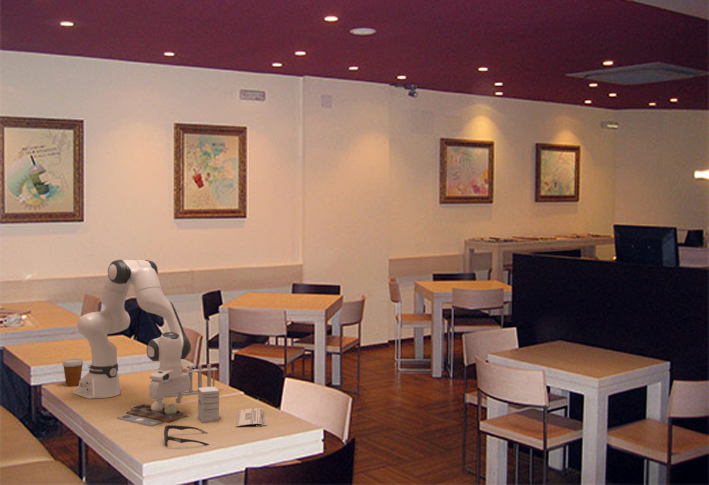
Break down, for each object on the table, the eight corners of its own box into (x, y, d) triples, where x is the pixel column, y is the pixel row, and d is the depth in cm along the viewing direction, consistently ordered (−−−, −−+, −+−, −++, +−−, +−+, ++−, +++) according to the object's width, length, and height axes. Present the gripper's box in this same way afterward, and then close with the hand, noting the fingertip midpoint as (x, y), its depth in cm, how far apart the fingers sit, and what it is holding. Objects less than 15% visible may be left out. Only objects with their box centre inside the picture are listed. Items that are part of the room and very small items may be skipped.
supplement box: (197, 417, 292) (197, 387, 292) (215, 415, 295) (215, 386, 295) (201, 422, 286) (201, 391, 285) (219, 420, 288) (219, 390, 288)
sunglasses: (163, 435, 269) (164, 422, 269) (207, 437, 273) (209, 425, 273) (162, 449, 253) (163, 436, 253) (209, 451, 257) (211, 438, 257)
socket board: (126, 413, 297) (126, 408, 297) (146, 407, 306) (146, 402, 306) (169, 422, 284) (169, 417, 284) (188, 416, 294) (188, 411, 294)
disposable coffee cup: (76, 381, 351) (76, 357, 350) (87, 384, 345) (87, 360, 345) (58, 385, 343) (58, 361, 343) (69, 388, 338) (69, 363, 337)
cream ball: (148, 413, 294) (148, 401, 294) (157, 410, 299) (157, 399, 298) (157, 415, 292) (157, 403, 292) (165, 412, 296) (165, 400, 296)
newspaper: (267, 428, 281) (266, 421, 281) (236, 432, 280) (235, 425, 280) (267, 411, 304) (266, 406, 304) (238, 415, 302) (238, 409, 302)
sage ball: (161, 416, 290) (161, 404, 290) (170, 413, 295) (170, 401, 294) (170, 418, 288) (170, 406, 288) (179, 415, 292) (179, 403, 292)
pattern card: (116, 418, 289) (116, 417, 289) (128, 415, 295) (128, 413, 295) (152, 426, 279) (152, 425, 279) (163, 422, 285) (163, 421, 285)
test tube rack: (164, 397, 323) (164, 369, 323) (162, 395, 327) (162, 367, 327) (217, 392, 334) (217, 364, 334) (215, 390, 338) (215, 362, 338)
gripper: (182, 366, 301) (182, 398, 302) (146, 375, 284) (146, 409, 284) (194, 368, 298) (193, 401, 299) (158, 378, 280) (157, 412, 281)
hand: (170, 405), depth 291 cm, fingers open, 8 cm apart
